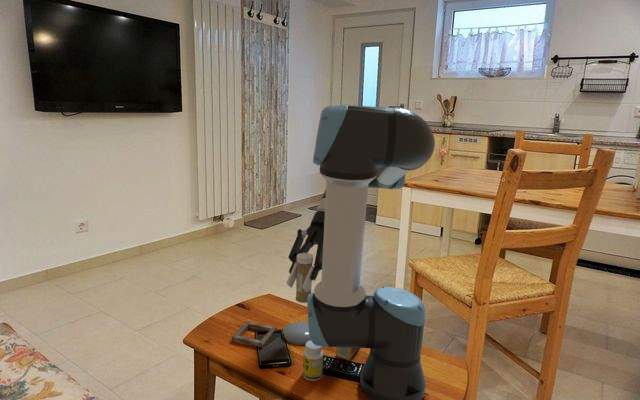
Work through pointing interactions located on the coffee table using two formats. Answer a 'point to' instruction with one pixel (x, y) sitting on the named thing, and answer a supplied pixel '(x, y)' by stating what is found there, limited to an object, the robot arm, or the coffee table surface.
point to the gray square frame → (248, 341)
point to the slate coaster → (297, 333)
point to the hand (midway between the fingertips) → (297, 287)
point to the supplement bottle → (312, 361)
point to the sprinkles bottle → (303, 276)
